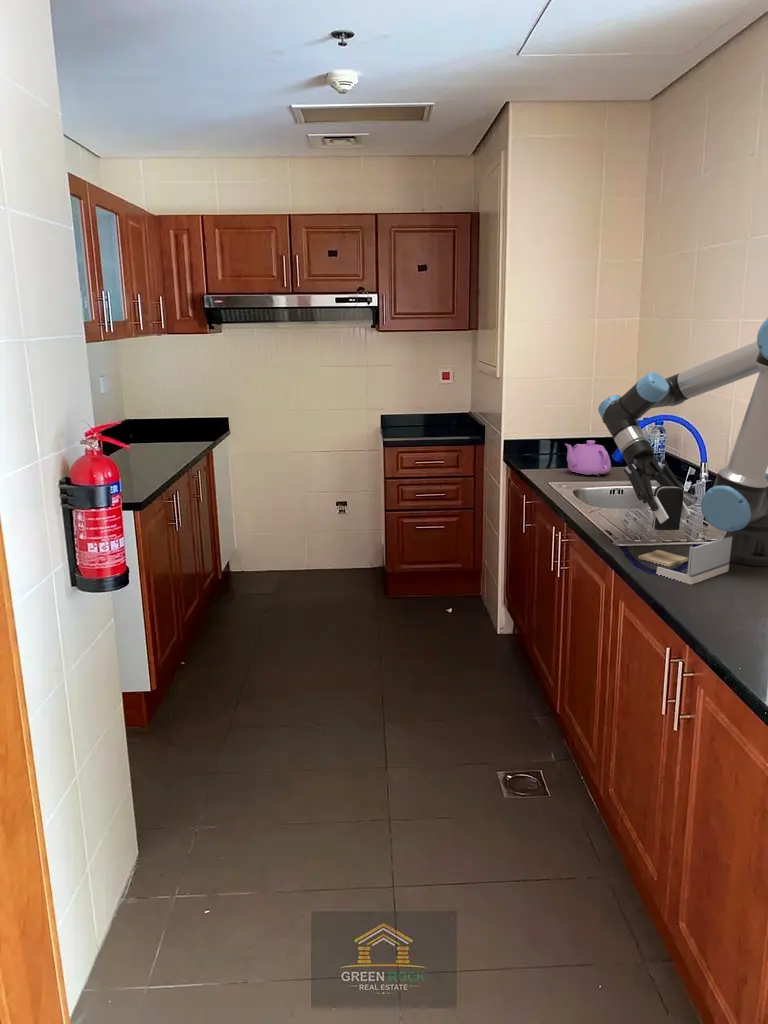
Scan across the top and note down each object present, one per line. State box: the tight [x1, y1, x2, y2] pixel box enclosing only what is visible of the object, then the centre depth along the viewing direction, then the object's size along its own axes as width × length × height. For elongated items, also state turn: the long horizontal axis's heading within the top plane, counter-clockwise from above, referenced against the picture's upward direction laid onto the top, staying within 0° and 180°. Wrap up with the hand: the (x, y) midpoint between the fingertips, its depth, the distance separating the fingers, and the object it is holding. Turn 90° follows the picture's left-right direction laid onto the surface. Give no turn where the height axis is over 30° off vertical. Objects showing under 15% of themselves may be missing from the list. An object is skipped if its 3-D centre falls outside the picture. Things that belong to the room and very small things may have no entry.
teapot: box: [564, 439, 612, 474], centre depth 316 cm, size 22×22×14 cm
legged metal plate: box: [655, 536, 732, 586], centre depth 191 cm, size 17×9×9 cm, turn 128°
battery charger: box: [651, 485, 684, 531], centre depth 200 cm, size 7×4×11 cm, turn 93°
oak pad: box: [638, 549, 689, 568], centre depth 203 cm, size 9×9×1 cm
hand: (675, 518), depth 197 cm, fingers closed on battery charger, 7 cm apart
